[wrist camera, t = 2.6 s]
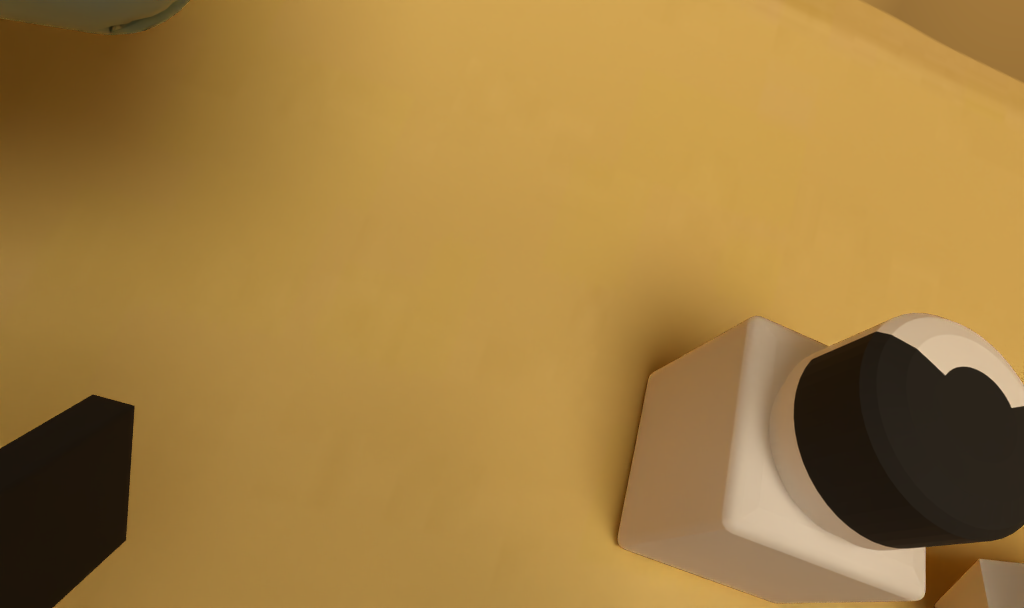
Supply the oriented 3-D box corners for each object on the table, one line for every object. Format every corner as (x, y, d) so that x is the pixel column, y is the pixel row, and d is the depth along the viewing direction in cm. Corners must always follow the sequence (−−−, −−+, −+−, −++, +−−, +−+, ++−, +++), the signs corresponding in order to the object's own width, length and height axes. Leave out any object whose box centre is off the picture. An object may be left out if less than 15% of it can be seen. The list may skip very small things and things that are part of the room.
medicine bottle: (776, 606, 28) (1100, 602, 18) (612, 547, 27) (856, 505, 16) (792, 432, 31) (1073, 342, 21) (646, 371, 30) (869, 243, 20)
